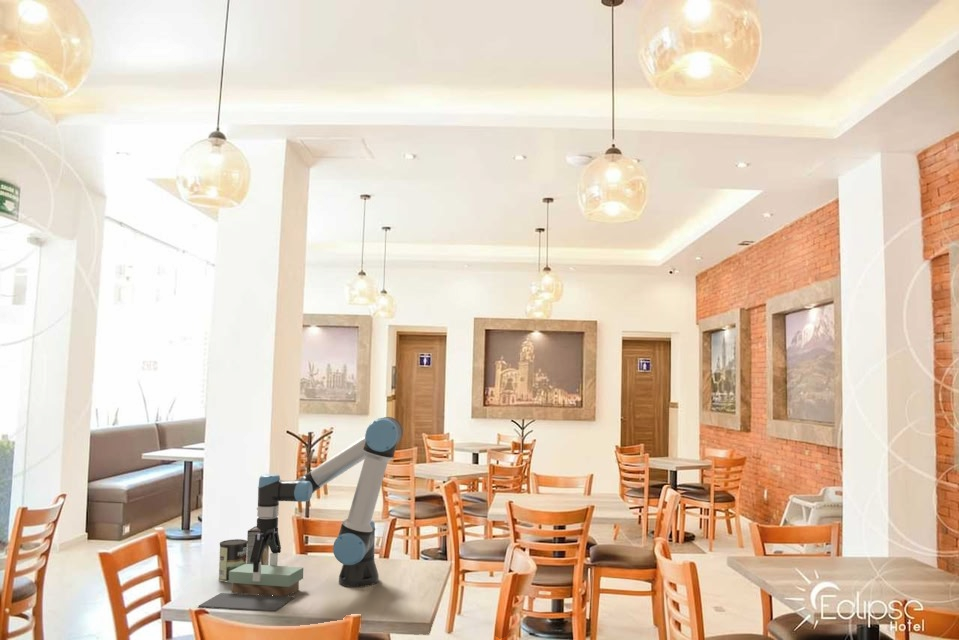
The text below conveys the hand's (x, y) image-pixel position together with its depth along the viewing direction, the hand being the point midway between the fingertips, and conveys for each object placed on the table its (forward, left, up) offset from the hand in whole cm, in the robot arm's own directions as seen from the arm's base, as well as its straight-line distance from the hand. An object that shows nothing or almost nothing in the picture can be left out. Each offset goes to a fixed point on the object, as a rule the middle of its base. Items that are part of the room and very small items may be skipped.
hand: (265, 576), depth 256 cm
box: (0, 0, -6) cm, 6 cm away
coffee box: (+18, -30, -6) cm, 35 cm away
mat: (0, +14, -5) cm, 15 cm away
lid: (0, 0, -2) cm, 2 cm away
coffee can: (+20, -13, -6) cm, 24 cm away
